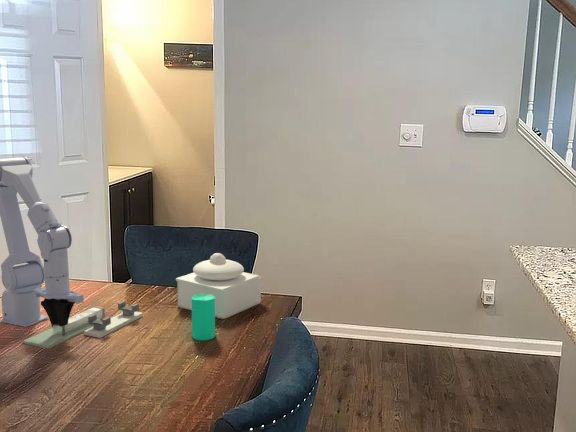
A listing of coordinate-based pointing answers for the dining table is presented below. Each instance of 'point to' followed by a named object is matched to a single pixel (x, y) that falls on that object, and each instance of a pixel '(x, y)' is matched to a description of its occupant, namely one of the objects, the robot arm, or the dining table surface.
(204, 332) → the candle
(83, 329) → the mat
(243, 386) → the dining table surface
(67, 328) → the rail
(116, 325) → the standards
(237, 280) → the butter dish
